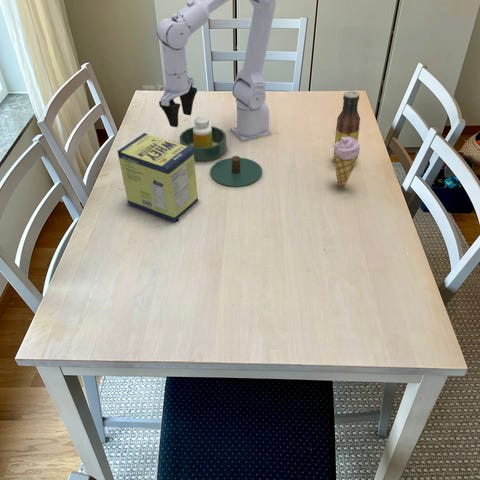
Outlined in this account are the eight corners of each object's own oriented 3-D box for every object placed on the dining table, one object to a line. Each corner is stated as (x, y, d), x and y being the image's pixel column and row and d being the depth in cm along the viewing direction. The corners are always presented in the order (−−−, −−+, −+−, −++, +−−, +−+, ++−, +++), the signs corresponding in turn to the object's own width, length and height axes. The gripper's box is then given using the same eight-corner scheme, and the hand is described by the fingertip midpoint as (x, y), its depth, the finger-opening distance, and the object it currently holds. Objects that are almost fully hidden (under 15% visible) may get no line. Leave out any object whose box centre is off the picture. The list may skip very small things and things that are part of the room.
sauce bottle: (353, 157, 144) (365, 89, 130) (355, 168, 140) (367, 99, 126) (331, 156, 145) (340, 88, 130) (331, 167, 140) (341, 98, 126)
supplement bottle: (212, 155, 145) (210, 124, 138) (193, 155, 145) (191, 124, 138) (213, 146, 149) (211, 115, 142) (195, 146, 149) (192, 115, 142)
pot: (214, 136, 153) (214, 121, 150) (234, 156, 145) (234, 141, 142) (174, 146, 149) (172, 131, 146) (191, 168, 141) (190, 153, 137)
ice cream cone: (324, 189, 133) (330, 137, 122) (332, 178, 137) (339, 127, 126) (348, 196, 131) (357, 144, 120) (355, 184, 134) (365, 132, 124)
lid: (247, 156, 145) (247, 140, 141) (271, 180, 136) (272, 164, 132) (202, 168, 141) (201, 152, 137) (224, 194, 132) (223, 177, 128)
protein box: (151, 185, 135) (143, 131, 124) (199, 202, 129) (194, 147, 118) (126, 204, 129) (115, 150, 118) (175, 223, 123) (168, 168, 112)
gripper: (176, 58, 135) (181, 106, 145) (147, 78, 126) (155, 128, 136) (199, 62, 133) (202, 111, 143) (171, 83, 124) (177, 133, 134)
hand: (180, 120), depth 139 cm, fingers open, 7 cm apart
